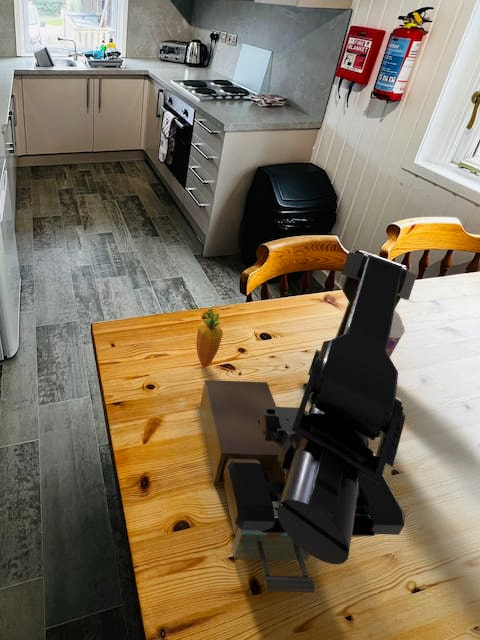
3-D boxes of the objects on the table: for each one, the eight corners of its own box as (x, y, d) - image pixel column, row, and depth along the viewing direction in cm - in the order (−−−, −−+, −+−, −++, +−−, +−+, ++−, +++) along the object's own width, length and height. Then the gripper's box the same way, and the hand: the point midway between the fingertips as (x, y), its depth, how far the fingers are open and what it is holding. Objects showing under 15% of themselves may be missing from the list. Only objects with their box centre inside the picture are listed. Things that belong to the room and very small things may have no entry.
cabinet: (284, 486, 64) (295, 455, 61) (213, 484, 64) (221, 453, 61) (258, 411, 76) (267, 382, 73) (199, 409, 76) (204, 379, 73)
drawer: (323, 609, 51) (336, 585, 48) (243, 607, 51) (252, 582, 48) (277, 469, 66) (285, 445, 63) (215, 467, 66) (221, 443, 63)
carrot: (215, 378, 82) (227, 324, 76) (191, 373, 83) (201, 319, 77) (215, 358, 87) (225, 306, 81) (192, 354, 87) (201, 301, 82)
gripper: (367, 389, 51) (335, 465, 57) (223, 384, 50) (206, 460, 56) (430, 490, 40) (382, 569, 46) (250, 484, 40) (225, 565, 46)
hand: (293, 534), depth 49 cm, fingers open, 6 cm apart
